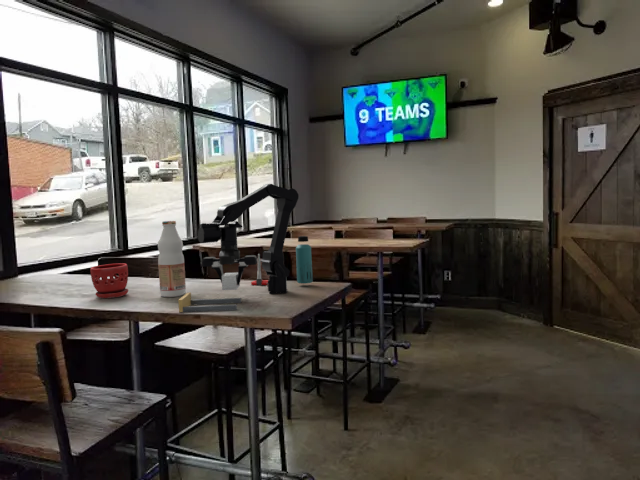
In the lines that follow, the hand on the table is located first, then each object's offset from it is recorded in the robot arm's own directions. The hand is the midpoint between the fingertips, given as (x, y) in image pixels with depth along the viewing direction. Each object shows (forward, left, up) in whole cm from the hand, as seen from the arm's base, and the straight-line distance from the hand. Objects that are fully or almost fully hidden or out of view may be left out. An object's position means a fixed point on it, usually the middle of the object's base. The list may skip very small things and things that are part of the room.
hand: (231, 285), depth 178 cm
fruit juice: (+24, -13, -5) cm, 28 cm away
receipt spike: (-8, -32, -5) cm, 34 cm away
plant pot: (+48, -15, -5) cm, 50 cm away
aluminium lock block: (0, 0, -1) cm, 1 cm away
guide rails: (+5, +12, -5) cm, 14 cm away
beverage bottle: (-26, -22, -5) cm, 35 cm away
